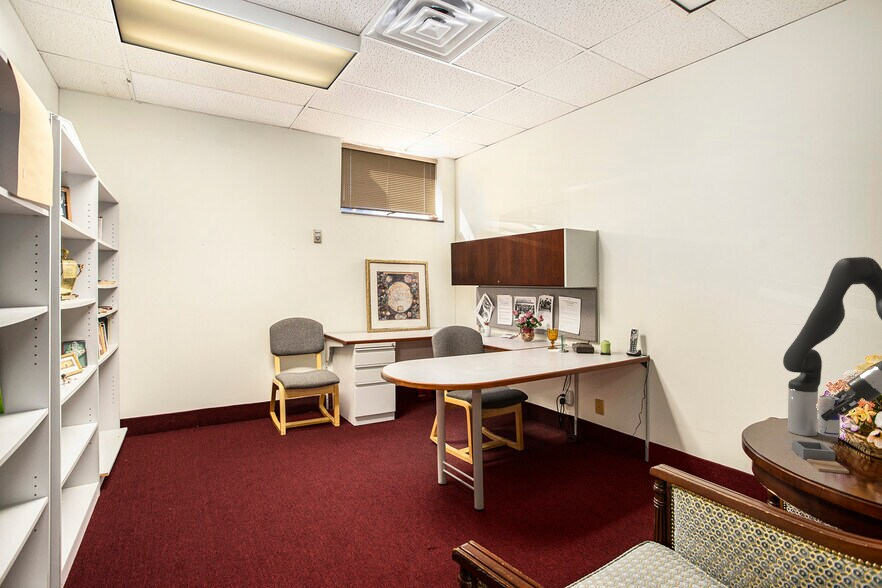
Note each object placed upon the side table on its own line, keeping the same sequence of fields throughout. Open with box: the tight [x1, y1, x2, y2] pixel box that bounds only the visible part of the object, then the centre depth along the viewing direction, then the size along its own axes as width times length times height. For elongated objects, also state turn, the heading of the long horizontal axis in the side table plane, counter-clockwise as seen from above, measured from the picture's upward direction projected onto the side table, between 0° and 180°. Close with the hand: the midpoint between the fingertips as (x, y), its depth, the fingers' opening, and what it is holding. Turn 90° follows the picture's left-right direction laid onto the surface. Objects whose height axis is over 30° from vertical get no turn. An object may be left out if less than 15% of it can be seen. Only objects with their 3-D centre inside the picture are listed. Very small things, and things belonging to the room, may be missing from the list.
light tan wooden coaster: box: [806, 459, 850, 474], centre depth 151 cm, size 8×8×1 cm
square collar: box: [791, 439, 836, 461], centre depth 160 cm, size 9×9×4 cm
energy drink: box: [817, 395, 841, 438], centre depth 150 cm, size 5×5×12 cm
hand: (821, 416), depth 151 cm, fingers closed on energy drink, 5 cm apart
